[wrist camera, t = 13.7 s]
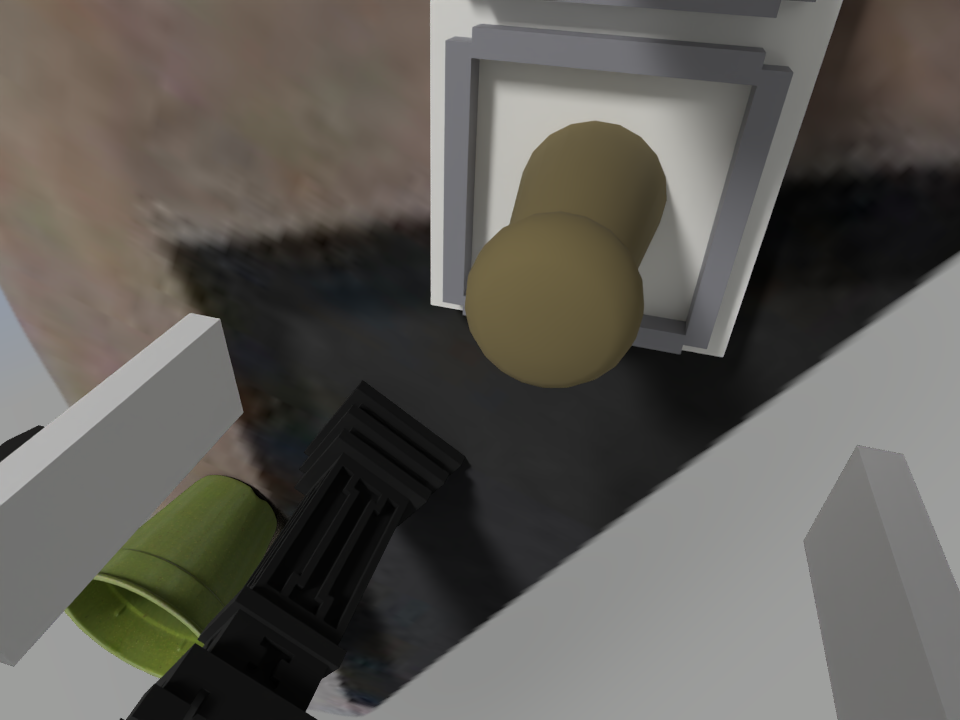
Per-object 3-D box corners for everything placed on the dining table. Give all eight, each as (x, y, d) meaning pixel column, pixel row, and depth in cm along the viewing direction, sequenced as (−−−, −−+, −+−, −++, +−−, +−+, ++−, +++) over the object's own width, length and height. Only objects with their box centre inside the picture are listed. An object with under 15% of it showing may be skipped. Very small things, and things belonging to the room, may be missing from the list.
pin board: (452, -541, 17) (95, -1280, 7) (1023, -597, 14) (1900, -1981, 4) (443, 286, 32) (328, 452, 22) (721, 334, 29) (741, 550, 19)
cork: (658, 268, 26) (645, 433, 18) (520, 258, 28) (444, 406, 19) (676, 121, 23) (671, 234, 14) (518, 119, 24) (426, 220, 16)
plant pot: (142, 456, 48) (19, 574, 39) (257, 443, 44) (147, 574, 35) (221, 557, 54) (128, 681, 45) (330, 556, 49) (251, 694, 40)
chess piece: (465, 456, 39) (311, 818, 23) (402, 511, 43) (238, 842, 27) (362, 380, 37) (124, 707, 21) (309, 445, 42) (81, 752, 26)
